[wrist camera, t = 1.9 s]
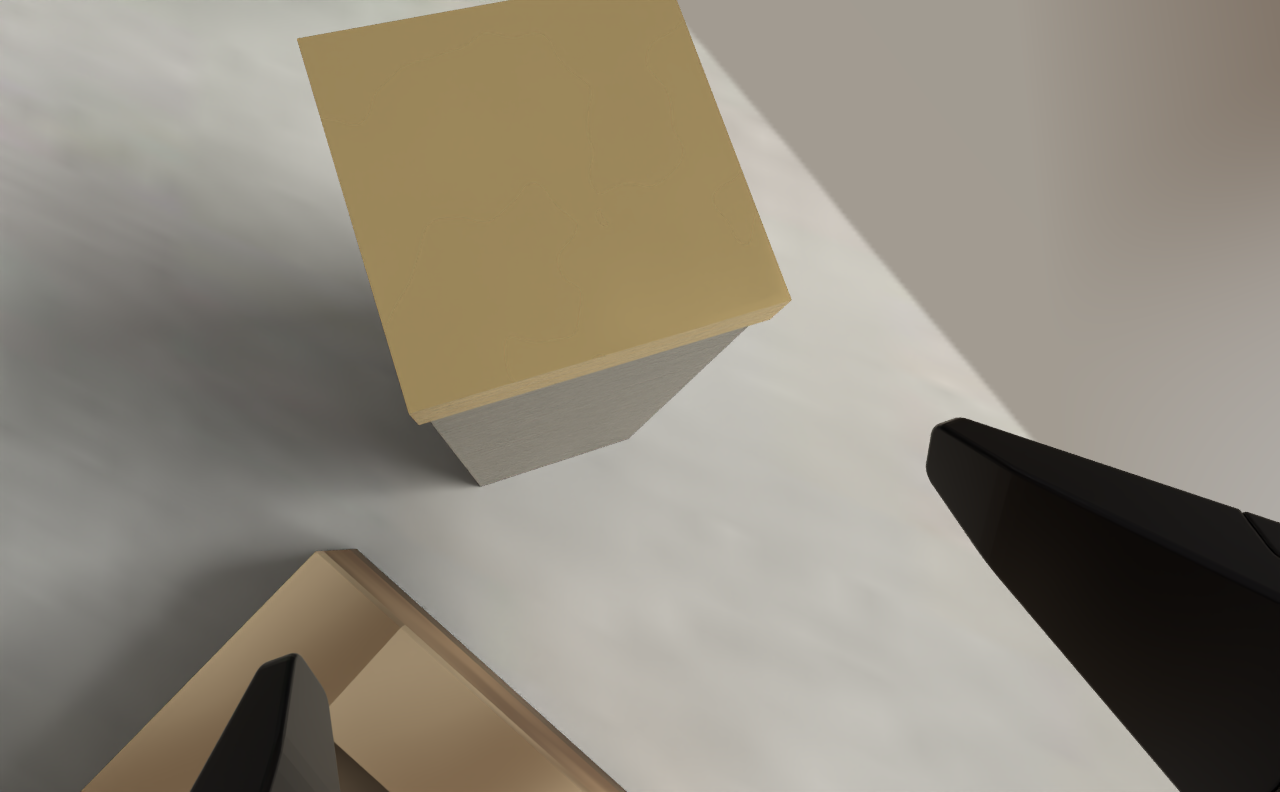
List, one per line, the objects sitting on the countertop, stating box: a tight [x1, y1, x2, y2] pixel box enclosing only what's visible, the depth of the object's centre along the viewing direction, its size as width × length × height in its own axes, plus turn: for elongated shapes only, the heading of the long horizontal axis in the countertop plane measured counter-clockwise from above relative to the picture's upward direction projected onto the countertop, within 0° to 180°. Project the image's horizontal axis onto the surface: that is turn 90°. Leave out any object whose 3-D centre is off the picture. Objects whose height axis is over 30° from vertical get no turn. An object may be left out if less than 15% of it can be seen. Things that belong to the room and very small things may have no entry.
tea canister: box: [297, 0, 791, 487], centre depth 15 cm, size 5×5×13 cm
